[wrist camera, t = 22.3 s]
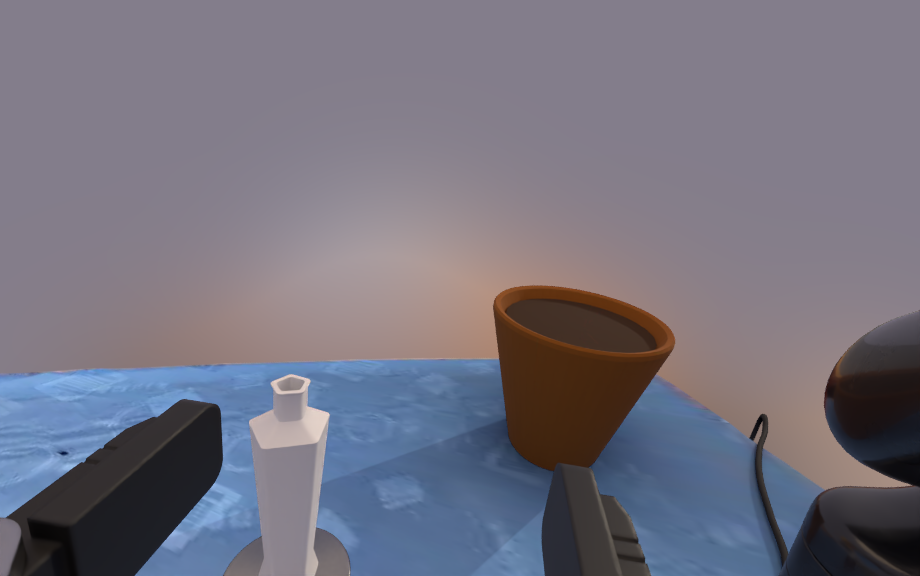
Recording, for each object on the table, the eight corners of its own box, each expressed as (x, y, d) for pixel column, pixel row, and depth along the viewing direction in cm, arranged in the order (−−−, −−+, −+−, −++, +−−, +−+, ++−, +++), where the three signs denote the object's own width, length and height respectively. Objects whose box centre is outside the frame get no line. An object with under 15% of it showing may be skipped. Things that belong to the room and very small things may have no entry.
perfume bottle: (234, 595, 28) (226, 394, 24) (279, 541, 32) (279, 360, 28) (296, 622, 27) (300, 416, 22) (334, 562, 31) (344, 378, 27)
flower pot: (497, 380, 79) (515, 275, 73) (634, 420, 72) (667, 308, 66) (450, 458, 58) (471, 320, 52) (638, 526, 51) (688, 375, 45)
